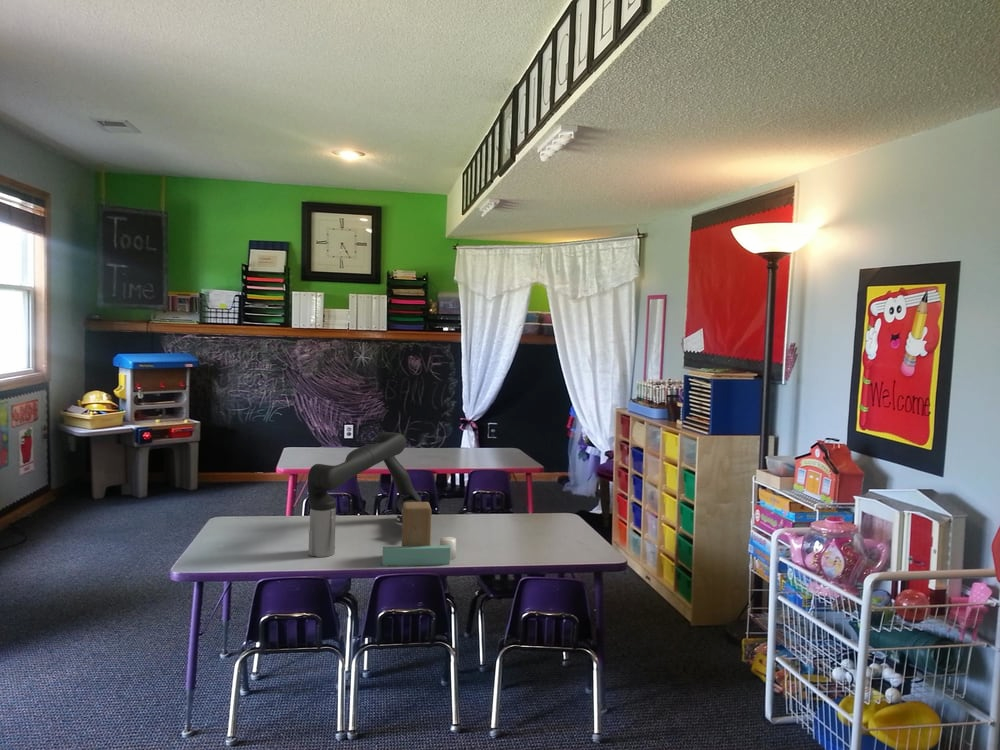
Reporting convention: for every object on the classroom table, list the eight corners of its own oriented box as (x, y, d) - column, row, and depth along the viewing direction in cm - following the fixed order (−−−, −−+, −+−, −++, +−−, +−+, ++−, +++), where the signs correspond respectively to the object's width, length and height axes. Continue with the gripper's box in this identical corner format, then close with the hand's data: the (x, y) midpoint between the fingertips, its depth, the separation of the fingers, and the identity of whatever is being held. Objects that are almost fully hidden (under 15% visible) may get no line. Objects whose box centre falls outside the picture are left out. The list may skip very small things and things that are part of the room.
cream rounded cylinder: (440, 560, 256) (440, 541, 255) (438, 555, 262) (439, 536, 261) (456, 560, 257) (457, 541, 256) (454, 554, 263) (455, 536, 262)
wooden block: (402, 562, 252) (404, 508, 251) (401, 553, 262) (402, 501, 260) (430, 561, 254) (431, 507, 252) (427, 553, 264) (429, 501, 262)
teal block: (382, 565, 248) (382, 549, 247) (382, 563, 250) (382, 546, 250) (449, 564, 252) (450, 547, 252) (448, 561, 255) (449, 545, 254)
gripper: (395, 504, 289) (396, 515, 272) (427, 504, 292) (430, 515, 275) (395, 522, 290) (396, 534, 273) (426, 521, 292) (429, 533, 275)
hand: (413, 524), depth 274 cm, fingers closed
